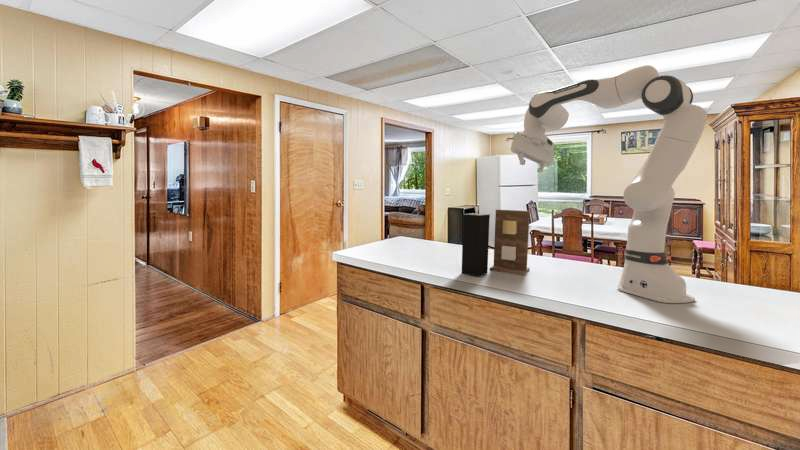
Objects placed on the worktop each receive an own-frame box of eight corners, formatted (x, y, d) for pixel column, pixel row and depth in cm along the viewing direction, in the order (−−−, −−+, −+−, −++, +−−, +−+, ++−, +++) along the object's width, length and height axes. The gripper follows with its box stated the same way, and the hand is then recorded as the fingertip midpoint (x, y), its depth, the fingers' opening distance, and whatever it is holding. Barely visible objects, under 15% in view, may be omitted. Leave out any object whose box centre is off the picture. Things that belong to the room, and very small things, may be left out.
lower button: (506, 256, 160) (507, 243, 159) (519, 257, 157) (519, 245, 156) (501, 258, 154) (501, 246, 154) (514, 260, 151) (515, 247, 150)
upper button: (507, 231, 159) (508, 219, 158) (520, 232, 155) (521, 219, 155) (502, 233, 153) (502, 220, 152) (515, 234, 150) (516, 221, 149)
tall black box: (487, 273, 150) (490, 206, 147) (477, 277, 144) (480, 207, 141) (471, 270, 155) (473, 205, 152) (461, 273, 150) (463, 206, 147)
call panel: (497, 266, 164) (500, 208, 161) (529, 270, 156) (532, 210, 153) (489, 270, 156) (492, 210, 153) (522, 275, 148) (525, 211, 145)
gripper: (519, 127, 148) (516, 156, 144) (557, 144, 155) (555, 173, 150) (508, 134, 154) (506, 162, 149) (546, 150, 160) (544, 178, 156)
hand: (531, 168), depth 150 cm, fingers open, 8 cm apart
